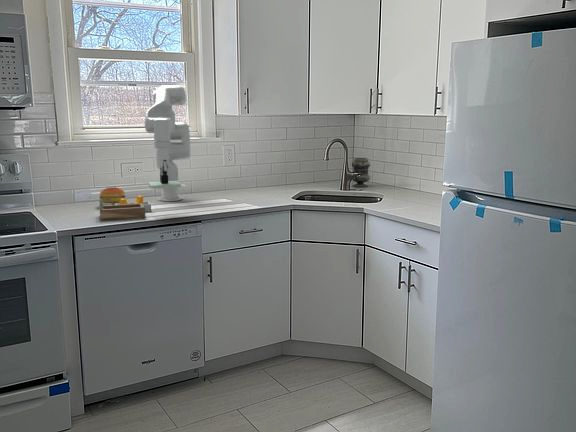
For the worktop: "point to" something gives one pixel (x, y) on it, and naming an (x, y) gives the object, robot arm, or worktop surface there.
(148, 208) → the clamp corral
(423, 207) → the worktop surface
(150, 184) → the mint green slab
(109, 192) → the burger
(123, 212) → the wooden box
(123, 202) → the pipe clamp
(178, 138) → the robot arm
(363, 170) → the apothecary jar
